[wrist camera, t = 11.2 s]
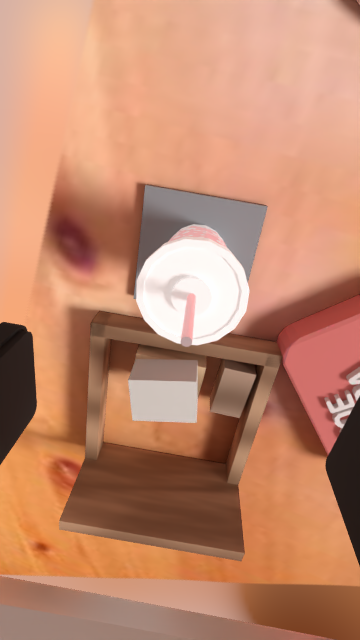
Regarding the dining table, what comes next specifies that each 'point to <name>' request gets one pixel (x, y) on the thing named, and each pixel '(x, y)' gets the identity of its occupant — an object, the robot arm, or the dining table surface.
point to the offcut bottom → (173, 358)
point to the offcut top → (164, 390)
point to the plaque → (325, 365)
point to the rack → (165, 458)
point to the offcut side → (232, 387)
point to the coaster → (199, 222)
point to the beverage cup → (192, 288)
